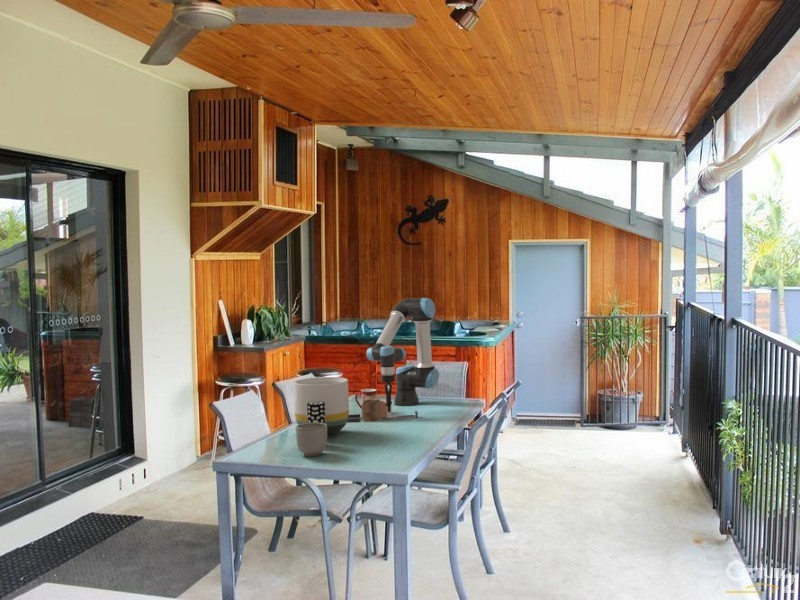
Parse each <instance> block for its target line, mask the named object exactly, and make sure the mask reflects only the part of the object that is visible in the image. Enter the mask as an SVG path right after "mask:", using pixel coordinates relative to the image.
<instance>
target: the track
mask: <svg viewBox="0 0 800 600" xmlns="http://www.w3.org/2000/svg"><path fill="white" fill-rule="evenodd" d="M395 418H413V419H418V418H419V416H418V410H415V411H414V414H407V415H406V414H405V415H392V418H387V417H380V420H382V419H395ZM360 421H364V418H362V416H360Z"/></svg>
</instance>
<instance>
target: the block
mask: <svg viewBox="0 0 800 600" xmlns="http://www.w3.org/2000/svg"><path fill="white" fill-rule="evenodd" d="M386 404H387V401H386V400H380V417H387V407H386V406H385V405H386ZM361 406H362V409H361V417H362V418H364V413H363V402H362V401H361Z"/></svg>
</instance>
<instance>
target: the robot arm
mask: <svg viewBox="0 0 800 600" xmlns="http://www.w3.org/2000/svg"><path fill="white" fill-rule="evenodd" d="M435 313H436V306H435V303H434V301H433V300H432V299H431V298H429V297H428V298H426V297H417V298H416V297H415V298H413V297H412V298H411V297H409V298H408V297H407V298H404V299H402V300H401V301H399V302H397V304H396V305H395V306H394V307H393V308H392V309H391V312H390V315H389V316H390V317H389V319H388V320H387V322H386V324H385V326H384V328H383V330H382V332H381V333H380V336H378V339H377V341H376V343H375V344H374V346H373V347H369V348H367V350H366V358H367V360H369V361H371V362H380V368H379V371H380V373H381V375H380V378H381V379H380V380H381V382H382V383H385V384H384V393H385V401H387V404H386V405H385V406H386V407H387V418H392V416H393V414H392V412H393V410H392V405H393V404H394V405H396V406H399V407H400V406H401V407H403V406H405V407H407V406H408V407H410V406H416V405H419V404H420V401H419V396H418V393H417V391H416V388H420V389H421V388H422V389H423V388H424V389H433V388H435V387H436V386H437V384H438V383H439V380H440V378H439V377H440V372H439V370H438V369H437V368H436V367H435V363H433V359H432V355H433V354H432V343H431V324H430V323H431V322H432V321H433V318H434V317H435V315H436V314H435ZM408 318H411V319H412V322H413V323H414V325H415V338H416V339H415V340H416V342H415V343H416V357H417V358H416V359H417V364H415V365H414V364H409V365H405V366H399V367H396V366H395V363H398V362H402V361H404V360H405V358H406V356H407V351H406V350H405V349H404V348H403V347H394V346H392V345H391V344H392V342H393V340H394V338H395V336H396V334H397V332H398V330H399V329H400V327H401V325H402V323H404V322H405V321H406V319H408ZM395 367H396V369H395ZM395 381H396V385H395V386H396V391H395V392H396V393H395V396H394V399H393V401H392V393H393V391H392V389H393V385H392V384H391V383H393V382H395Z"/></svg>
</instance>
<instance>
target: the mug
mask: <svg viewBox="0 0 800 600" xmlns="http://www.w3.org/2000/svg"><path fill="white" fill-rule="evenodd" d="M358 395H360V397H361V403H362V402H363V397H370V396H377V389H375V388H364V389H360V392H356V394H355V403H356V404H357V405H358V407H359V408H360V409H361V410H362V404H361V403H360V402H359V400H358Z"/></svg>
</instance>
